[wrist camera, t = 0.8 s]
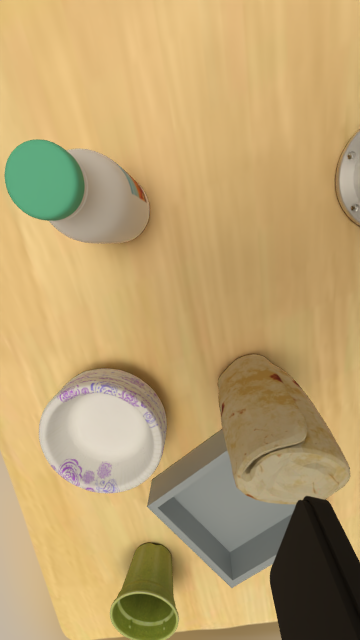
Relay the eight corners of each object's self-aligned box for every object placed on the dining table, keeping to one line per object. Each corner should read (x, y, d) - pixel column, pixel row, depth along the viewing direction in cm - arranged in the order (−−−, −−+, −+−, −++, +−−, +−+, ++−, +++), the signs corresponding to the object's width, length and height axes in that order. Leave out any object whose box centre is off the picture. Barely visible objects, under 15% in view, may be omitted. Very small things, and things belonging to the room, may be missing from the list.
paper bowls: (70, 454, 47) (45, 496, 40) (57, 359, 44) (27, 384, 36) (171, 455, 46) (166, 497, 39) (166, 357, 43) (159, 383, 35)
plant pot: (149, 587, 53) (140, 653, 44) (112, 551, 51) (95, 611, 43) (193, 562, 51) (192, 626, 43) (156, 524, 50) (148, 581, 41)
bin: (247, 411, 44) (253, 432, 39) (323, 495, 47) (338, 525, 42) (152, 479, 48) (147, 506, 43) (228, 554, 50) (231, 588, 45)
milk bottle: (160, 229, 39) (122, 217, 19) (103, 252, 40) (13, 263, 20) (135, 165, 37) (67, 82, 18) (77, 191, 38) (-48, 140, 19)
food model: (218, 399, 44) (235, 526, 24) (212, 354, 42) (224, 451, 23) (290, 391, 43) (366, 516, 24) (287, 345, 41) (365, 438, 22)
